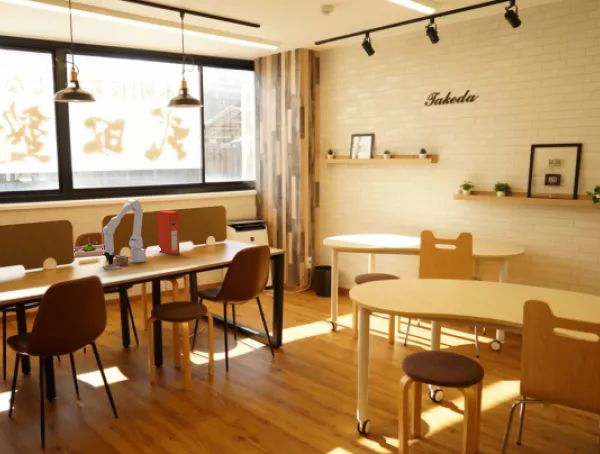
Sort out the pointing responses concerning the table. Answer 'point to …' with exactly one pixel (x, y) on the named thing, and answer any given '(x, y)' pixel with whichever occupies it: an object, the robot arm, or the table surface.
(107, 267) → the pad
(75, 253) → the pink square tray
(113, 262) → the pink eraser brick
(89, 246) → the plant
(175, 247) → the file binder
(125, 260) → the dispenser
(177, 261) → the table surface
